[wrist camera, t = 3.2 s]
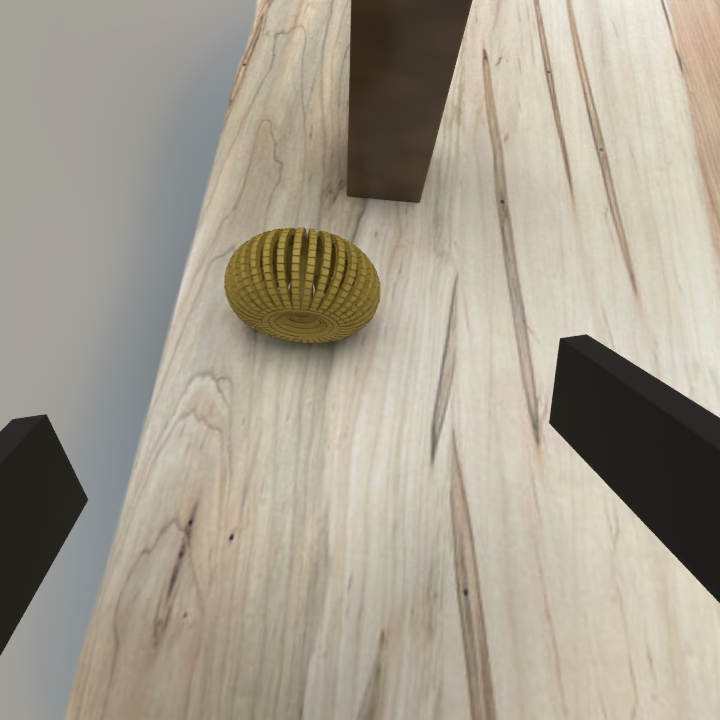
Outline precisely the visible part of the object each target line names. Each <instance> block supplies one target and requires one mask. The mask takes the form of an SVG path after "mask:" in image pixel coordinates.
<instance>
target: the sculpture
mask: <svg viewBox="0 0 720 720" xmlns="http://www.w3.org/2000/svg"><path fill="white" fill-rule="evenodd" d="M354 278H355V279H354ZM263 280H265V282H264V281H263ZM291 281H292V282H291ZM254 282H255V283H254ZM313 282H314V283H313ZM290 283H292V284H291V285H290V289H288V286H289V284H290ZM250 284H251V285H250ZM313 284H314V285H315V286H314V287H315V289H316V290H315V293H314V296H313V288H312V286H313ZM278 286H279V291H278ZM352 286H353V288H352ZM224 287H225V291H226V292H225V293H226V296H227V299H228V301H229V303H230V306H231V308H232V309H233V311H234V312H235V313H236V315H237V316H238V317H240V319H241V320H242V321H243V322H245V324H247V325H248V326H250V327H251V328H253V329H254V330H256V331H258V332H261V333H262V334H265V335H268V336H271V337H274V338H278V339H281V340H286V341H291V342H292V341H293V339H294V342H299V343H300V341H302V343H308V342H311V343H324V342H328V341H329V342H331V341H335V340H340V339H344V338H346V337H348V336H351V335H353V334H355V333H357V332H358V331H360V330H361V329H362V328H364V327H365V326H366V324H367V323H368V322H369V321H370V319H372V317H373V315H374V314H375V312H376V309H377V307H378V306H377V305H378V303H379V301H380V300H379V299H380V282H379V278H378V276H377V272H376V270H375V268H374V266H373V264H372V263H371V262H370V260H369V259H368V257H366V255H365V254H364V253H363V252H362V251H361V250H360V249H359V248H357V247H355V245H353V244H351V243H350V242H349V241H347V240H345V239H342V238H339V236H336V235H333V234H329V233H328V232H324V231H319V232H318V233H317V230H315V229H309V232H308V238H307V233H306V229H305V228H297V229H294V228H285V229H275V230H273V231H267V232H266V233H265V232H264V233H262V234H259V235H257V236H255V237H253V238H251V240H249V241H246V242H245V243H244V244H243V245H241V246H240V247H239V249H238V250H236V252H235V253H234V255H233V256H232V257H231V259H230V261H229V263H228V267H227V268H226V273H225V286H224ZM268 287H269V289H268ZM338 288H339V289H338ZM256 289H257V290H256ZM267 289H268V291H267ZM288 291H289V292H288ZM324 292H325V293H324ZM323 293H324V294H325V296H324V297H323V295H322V294H323ZM333 297H334V299H333ZM357 297H358V298H357ZM292 300H293V301H292Z"/></svg>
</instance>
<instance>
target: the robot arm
mask: <svg viewBox="0 0 720 720" xmlns="http://www.w3.org/2000/svg"><path fill="white" fill-rule="evenodd" d="M549 423H550V424H551V426H552V427H553V428H554V429H555V430H556V431H557V432H558V433H559V434H560V435H561V436H562V437H563V438H564V439H565V440H566V441H567V442H568V443H569V445H570V446H571V447H572V448H573V449H574V450H575V451H576V452H577V453H578V454H579V455H580V456H581V457H582V458H583V459H584V460H585V461H586V462H587V464H588V465H589V466H590V467H591V468H592V469H593V470H594V471H595V472H596V473H597V474H598V475H599V476H600V477H601V478H602V479H603V480H604V481H605V483H606V484H607V485H608V486H609V487H610V488H611V489H612V490H613V491H614V492H615V493H616V494H617V495H618V496H619V497H620V498H621V499H622V500H623V502H624V503H625V504H626V505H627V506H628V507H629V508H630V509H631V510H632V511H633V512H634V513H635V514H636V515H637V516H638V517H639V518H640V519H641V521H642V522H643V523H644V524H645V525H646V526H647V527H648V528H649V529H650V530H651V531H652V532H653V533H654V534H655V535H656V536H657V537H658V538H659V540H660V541H661V542H662V543H663V544H664V545H665V546H666V547H667V548H668V549H669V550H670V551H671V552H672V553H673V554H674V555H675V556H676V557H677V558H678V560H679V561H680V562H681V563H682V564H683V565H684V566H685V567H686V568H687V569H688V570H689V571H690V572H691V573H692V574H693V575H694V576H695V577H696V579H697V580H698V581H699V582H700V583H701V584H702V585H703V586H704V587H705V588H706V589H707V590H708V591H709V592H710V593H711V594H712V595H713V596H714V598H715V599H716V600H717V601H718V602H719V603H720V418H719V417H718V416H716V415H714V414H713V413H711V412H710V411H708V410H706V409H705V408H703V407H702V406H700V405H698V404H697V403H695V402H694V401H692V400H690V399H689V398H687V397H686V396H684V395H682V394H681V393H679V392H678V391H676V390H674V389H673V388H671V387H670V386H668V385H666V384H665V383H663V382H662V381H660V380H659V379H657V378H655V377H654V376H652V375H651V374H649V373H647V372H646V371H644V370H643V369H641V368H639V367H638V366H636V365H635V364H633V363H631V362H630V361H628V360H627V359H625V358H623V357H622V356H620V355H619V354H617V353H615V352H614V351H612V350H611V349H609V348H607V347H606V346H604V345H603V344H601V343H600V342H598V341H596V340H595V339H593V338H592V337H590V336H588V335H587V334H586V335H580V336H573V337H566V338H560V342H559V350H558V358H557V366H556V373H555V381H554V389H553V397H552V405H551V413H550V420H549ZM87 501H88V498H87V496H86V494H85V492H84V491H83V488H82V486H81V484H80V482H79V480H78V478H77V476H76V474H75V472H74V470H73V468H72V466H71V464H70V462H69V460H68V458H67V456H66V453H65V451H64V449H63V447H62V445H61V443H60V441H59V439H58V437H57V435H56V433H55V431H54V429H53V427H52V425H51V423H50V421H49V419H48V417H47V415H46V414H45V415H38V416H31V417H25V418H18V419H13V420H12V421H10V423H8V425H7V426H5V428H3V429H2V431H0V655H1V654H2V652H3V650H4V648H5V646H6V645H7V643H8V641H9V639H10V637H11V636H12V634H13V632H14V630H15V629H16V627H17V625H18V623H19V622H20V620H21V618H22V616H23V614H24V613H25V611H26V609H27V607H28V605H29V604H30V602H31V600H32V598H33V597H34V595H35V593H36V591H37V590H38V588H39V586H40V584H41V583H42V581H43V579H44V577H45V576H46V574H47V572H48V570H49V568H50V567H51V565H52V563H53V561H54V559H55V558H56V556H57V554H58V552H59V551H60V549H61V547H62V545H63V544H64V542H65V540H66V538H67V536H68V535H69V533H70V531H71V529H72V528H73V526H74V524H75V522H76V521H77V519H78V517H79V515H80V513H81V512H82V510H83V508H84V506H85V505H86V503H87Z"/></svg>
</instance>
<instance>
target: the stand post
mask: <svg viewBox="0 0 720 720" xmlns="http://www.w3.org/2000/svg"><path fill="white" fill-rule="evenodd" d="M471 4H472V0H351V35H350V78H349V121H348V164H347V196H356V197H367V198H378V199H389V200H399V201H410V202H420V199H421V195H422V192H423V188H424V184H425V180H426V176H427V172H428V169H429V165H430V161H431V157H432V153H433V149H434V146H435V142H436V138H437V134H438V130H439V126H440V123H441V119H442V115H443V111H444V107H445V104H446V100H447V96H448V92H449V88H450V84H451V81H452V77H453V73H454V69H455V65H456V61H457V58H458V54H459V50H460V46H461V42H462V38H463V35H464V31H465V27H466V23H467V19H468V15H469V12H470V8H471Z"/></svg>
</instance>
